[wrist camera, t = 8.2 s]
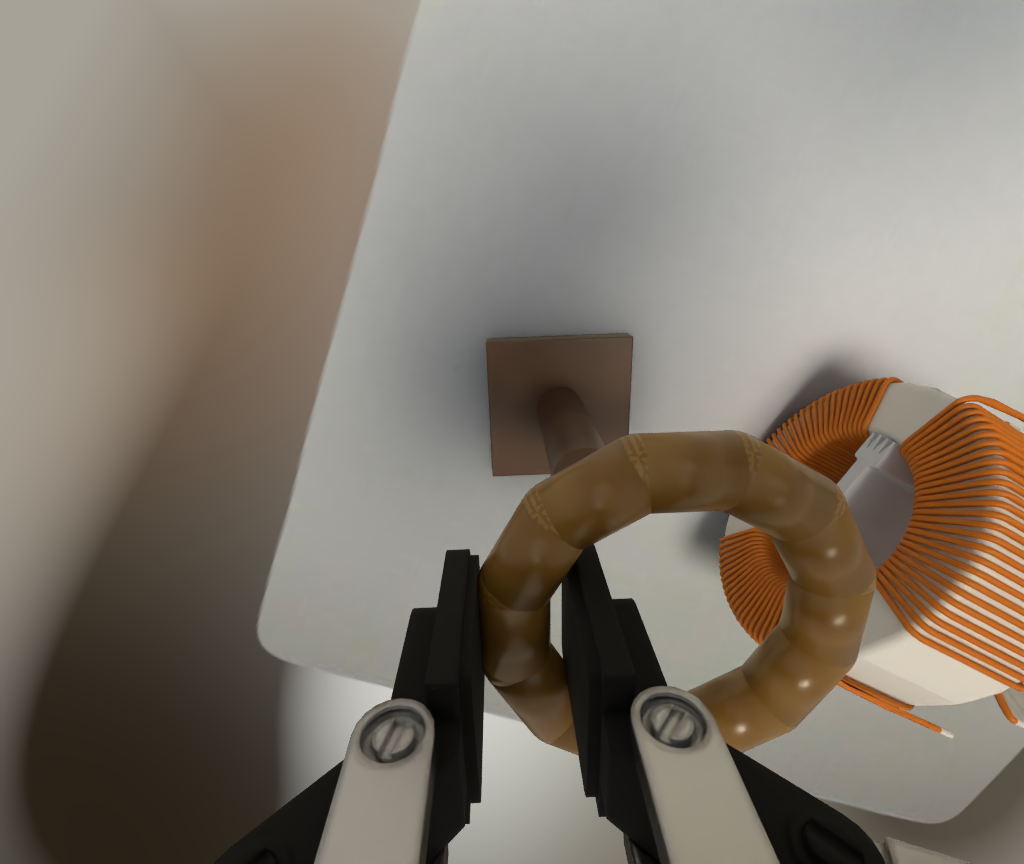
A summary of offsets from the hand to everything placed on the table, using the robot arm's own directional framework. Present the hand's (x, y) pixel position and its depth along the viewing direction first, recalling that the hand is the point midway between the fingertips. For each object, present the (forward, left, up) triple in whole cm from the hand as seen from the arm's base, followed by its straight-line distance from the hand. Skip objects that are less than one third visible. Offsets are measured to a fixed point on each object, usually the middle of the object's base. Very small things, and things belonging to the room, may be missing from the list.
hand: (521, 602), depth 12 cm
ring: (0, +3, +1) cm, 3 cm away
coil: (+6, +18, -19) cm, 27 cm away
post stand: (+1, +3, -19) cm, 19 cm away
